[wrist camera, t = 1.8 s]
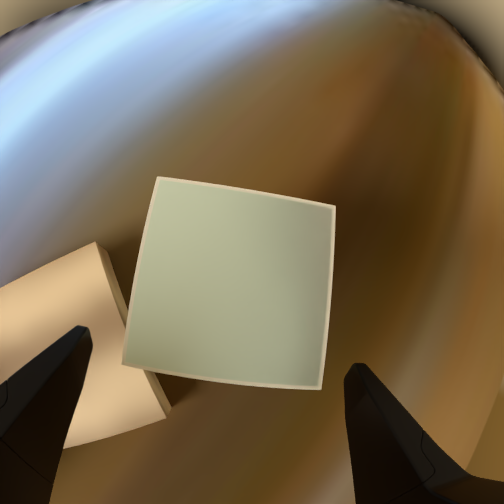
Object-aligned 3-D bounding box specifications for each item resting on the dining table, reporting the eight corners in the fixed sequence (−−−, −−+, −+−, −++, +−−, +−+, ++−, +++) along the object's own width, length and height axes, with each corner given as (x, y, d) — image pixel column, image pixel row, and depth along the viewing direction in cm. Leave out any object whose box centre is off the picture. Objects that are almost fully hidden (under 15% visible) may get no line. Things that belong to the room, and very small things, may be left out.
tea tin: (255, 356, 19) (321, 389, 8) (173, 344, 19) (121, 364, 7) (265, 276, 20) (335, 205, 9) (185, 264, 20) (157, 176, 8)
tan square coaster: (172, 405, 18) (166, 417, 15) (46, 444, 16) (28, 456, 13) (109, 253, 20) (95, 241, 17) (-4, 307, 17) (-27, 303, 14)
